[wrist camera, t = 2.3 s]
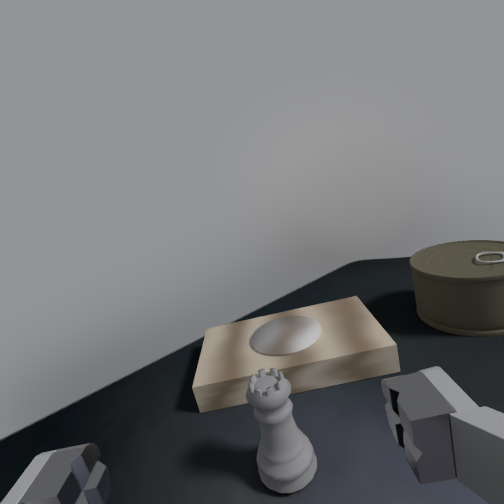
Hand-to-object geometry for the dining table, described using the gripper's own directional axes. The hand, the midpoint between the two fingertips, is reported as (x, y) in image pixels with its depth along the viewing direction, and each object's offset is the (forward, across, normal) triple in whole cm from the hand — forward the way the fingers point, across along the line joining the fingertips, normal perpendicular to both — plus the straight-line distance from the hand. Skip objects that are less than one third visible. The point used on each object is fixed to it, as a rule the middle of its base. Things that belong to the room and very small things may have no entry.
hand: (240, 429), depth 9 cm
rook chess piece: (+12, 0, +15) cm, 20 cm away
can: (+28, -23, +16) cm, 40 cm away
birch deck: (+26, -2, +15) cm, 30 cm away
